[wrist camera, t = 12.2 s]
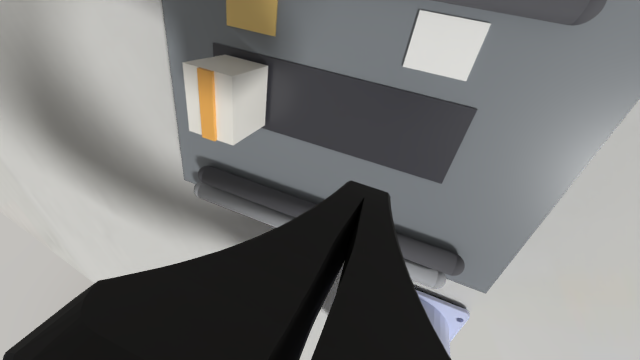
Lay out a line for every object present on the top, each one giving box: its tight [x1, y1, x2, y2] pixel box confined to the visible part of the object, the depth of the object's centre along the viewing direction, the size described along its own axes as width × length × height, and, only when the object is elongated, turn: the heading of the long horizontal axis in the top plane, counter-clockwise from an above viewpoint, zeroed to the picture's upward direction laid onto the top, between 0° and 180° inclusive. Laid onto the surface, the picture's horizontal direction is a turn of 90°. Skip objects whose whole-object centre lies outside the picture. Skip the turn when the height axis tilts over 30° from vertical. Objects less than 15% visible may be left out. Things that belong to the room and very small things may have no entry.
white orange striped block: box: [182, 55, 268, 145], centre depth 16 cm, size 4×3×4 cm
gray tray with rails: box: [194, 0, 607, 289], centre depth 16 cm, size 17×20×1 cm
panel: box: [162, 0, 640, 293], centre depth 17 cm, size 18×24×2 cm
